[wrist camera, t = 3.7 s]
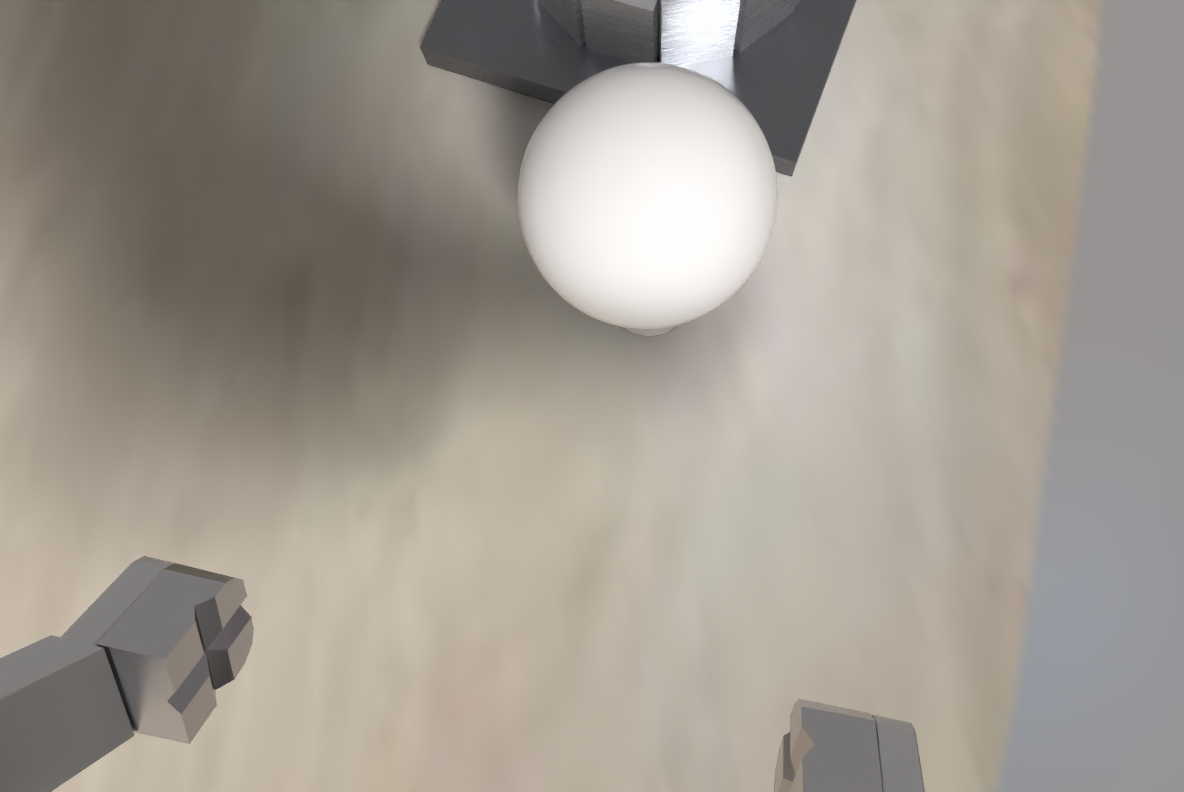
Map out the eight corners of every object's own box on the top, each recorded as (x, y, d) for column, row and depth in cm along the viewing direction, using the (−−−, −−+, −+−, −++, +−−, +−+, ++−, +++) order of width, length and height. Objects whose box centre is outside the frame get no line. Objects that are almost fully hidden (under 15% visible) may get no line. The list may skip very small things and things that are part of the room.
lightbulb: (732, 207, 29) (776, -16, 18) (755, 385, 27) (817, 257, 17) (550, 227, 29) (487, 19, 18) (563, 404, 28) (503, 290, 17)
